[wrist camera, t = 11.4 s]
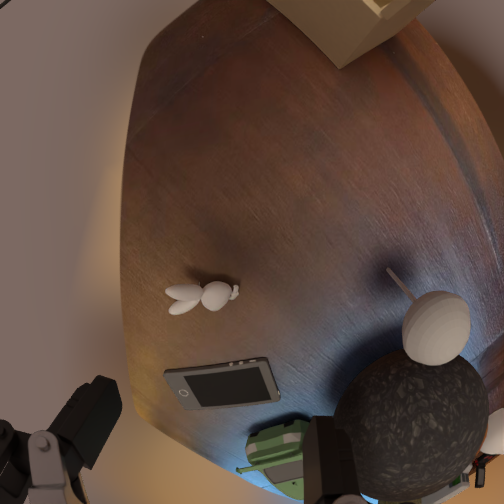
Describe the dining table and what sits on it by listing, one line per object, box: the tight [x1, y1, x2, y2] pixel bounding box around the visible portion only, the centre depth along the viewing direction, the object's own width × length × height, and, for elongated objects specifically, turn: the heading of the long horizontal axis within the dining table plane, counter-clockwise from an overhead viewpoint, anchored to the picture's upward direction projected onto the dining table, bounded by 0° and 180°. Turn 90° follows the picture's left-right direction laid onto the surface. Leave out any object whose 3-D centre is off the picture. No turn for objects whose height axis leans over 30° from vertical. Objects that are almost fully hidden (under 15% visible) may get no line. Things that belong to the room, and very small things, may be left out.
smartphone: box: [163, 358, 280, 410], centre depth 36 cm, size 15×8×1 cm, turn 106°
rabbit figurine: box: [165, 281, 239, 315], centre depth 30 cm, size 6×4×8 cm
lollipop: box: [386, 268, 471, 365], centre depth 23 cm, size 6×6×15 cm
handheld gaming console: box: [475, 453, 497, 488], centre depth 42 cm, size 9×12×10 cm
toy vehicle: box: [421, 463, 473, 504], centre depth 43 cm, size 9×18×10 cm, turn 142°
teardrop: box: [480, 408, 504, 455], centre depth 34 cm, size 11×11×12 cm
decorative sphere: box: [333, 348, 489, 502], centre depth 25 cm, size 20×20×20 cm
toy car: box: [236, 420, 310, 500], centre depth 37 cm, size 12×30×10 cm, turn 33°
